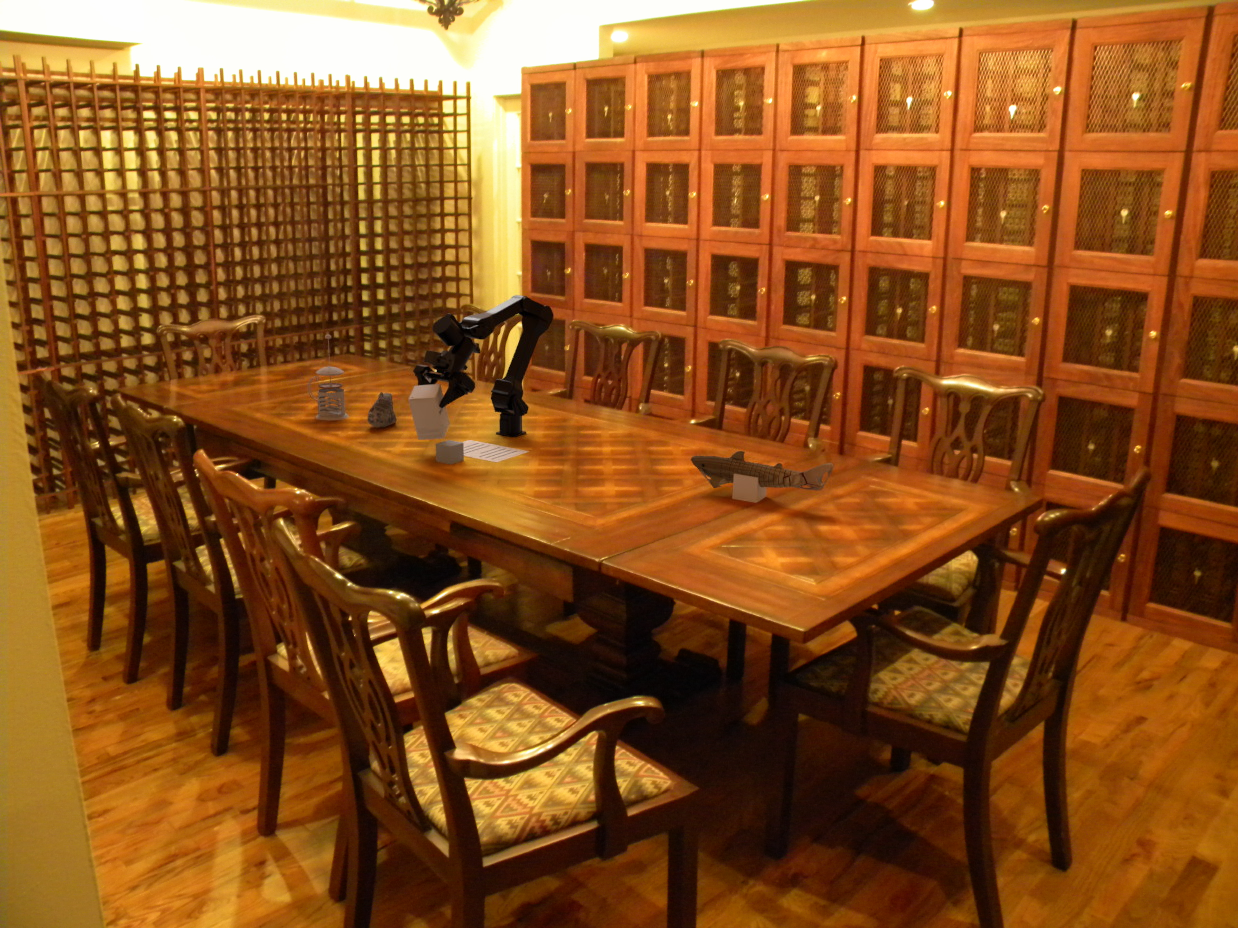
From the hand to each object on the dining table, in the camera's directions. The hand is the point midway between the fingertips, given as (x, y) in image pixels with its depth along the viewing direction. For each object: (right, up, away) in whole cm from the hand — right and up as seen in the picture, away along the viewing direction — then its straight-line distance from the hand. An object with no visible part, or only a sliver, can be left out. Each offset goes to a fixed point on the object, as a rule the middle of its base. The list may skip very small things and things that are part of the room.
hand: (428, 404), depth 278 cm
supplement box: (+1, -7, +4) cm, 9 cm away
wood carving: (+82, -24, -29) cm, 91 cm away
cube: (+6, -15, -3) cm, 17 cm away
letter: (+13, -12, +8) cm, 20 cm away
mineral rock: (-20, -5, +34) cm, 40 cm away
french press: (-38, -1, +44) cm, 58 cm away
